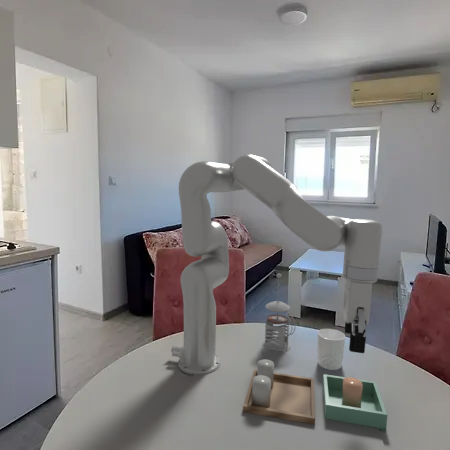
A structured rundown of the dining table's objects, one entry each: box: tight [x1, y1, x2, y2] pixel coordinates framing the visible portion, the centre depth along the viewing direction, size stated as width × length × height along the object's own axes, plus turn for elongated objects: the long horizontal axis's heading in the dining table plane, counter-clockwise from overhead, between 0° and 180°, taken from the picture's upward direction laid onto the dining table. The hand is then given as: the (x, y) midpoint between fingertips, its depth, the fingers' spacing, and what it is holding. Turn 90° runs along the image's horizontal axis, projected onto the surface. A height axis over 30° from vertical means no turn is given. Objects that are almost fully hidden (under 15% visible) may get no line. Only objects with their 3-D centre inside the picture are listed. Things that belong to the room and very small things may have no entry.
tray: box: [242, 369, 316, 426], centre depth 85 cm, size 16×16×2 cm
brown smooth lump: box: [342, 376, 363, 408], centre depth 82 cm, size 4×4×6 cm
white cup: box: [317, 328, 346, 371], centre depth 101 cm, size 8×8×10 cm
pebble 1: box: [256, 358, 275, 388], centre depth 89 cm, size 4×4×6 cm
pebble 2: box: [252, 375, 271, 408], centre depth 82 cm, size 4×4×6 cm
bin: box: [322, 373, 388, 432], centre depth 82 cm, size 13×13×4 cm
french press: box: [261, 273, 296, 353], centre depth 111 cm, size 10×12×25 cm
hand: (353, 342), depth 80 cm, fingers open, 9 cm apart
